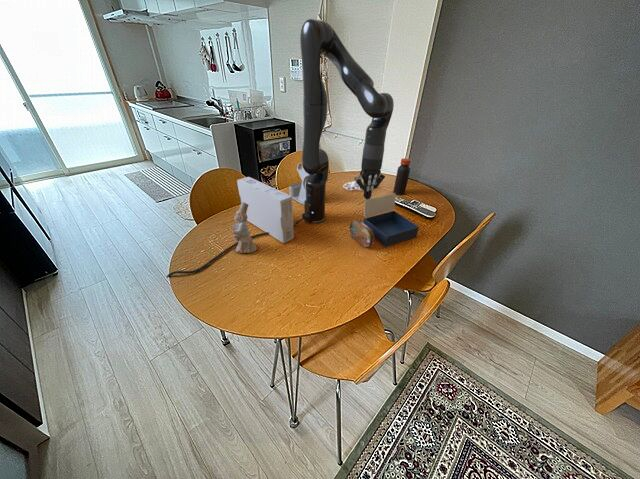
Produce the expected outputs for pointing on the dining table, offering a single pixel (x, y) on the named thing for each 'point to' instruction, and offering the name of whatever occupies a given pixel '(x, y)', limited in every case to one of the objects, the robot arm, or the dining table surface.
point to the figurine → (242, 231)
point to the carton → (391, 228)
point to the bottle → (402, 177)
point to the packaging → (267, 208)
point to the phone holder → (299, 186)
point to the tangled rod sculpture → (352, 186)
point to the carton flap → (379, 204)
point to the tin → (362, 233)
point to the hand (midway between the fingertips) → (366, 198)
